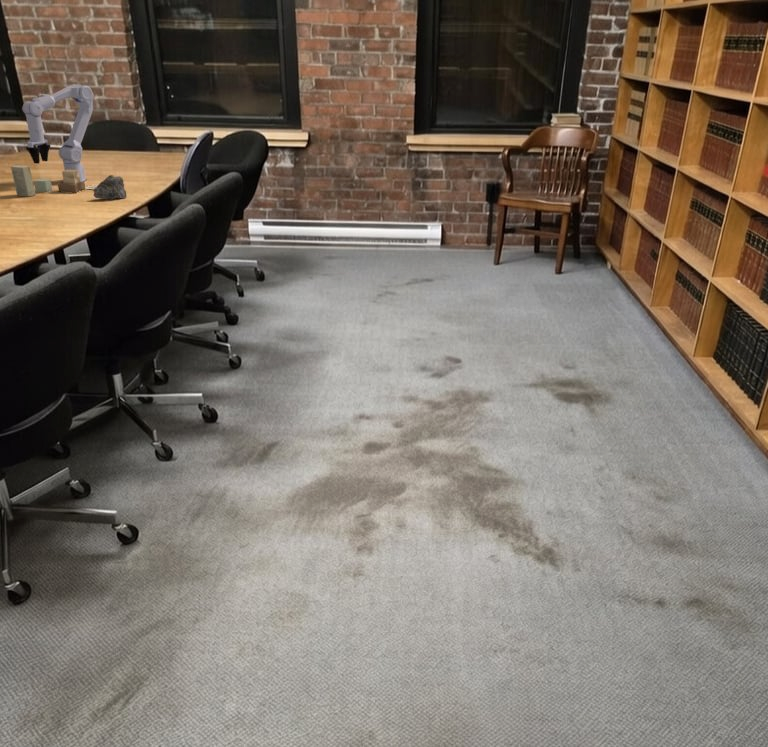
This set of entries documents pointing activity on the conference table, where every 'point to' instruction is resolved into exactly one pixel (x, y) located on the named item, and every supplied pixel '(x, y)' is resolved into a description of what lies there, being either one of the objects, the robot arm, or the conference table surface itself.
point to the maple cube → (71, 176)
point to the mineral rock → (110, 188)
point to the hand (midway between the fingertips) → (40, 162)
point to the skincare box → (23, 180)
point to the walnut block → (71, 187)
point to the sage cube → (43, 185)
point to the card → (90, 187)
